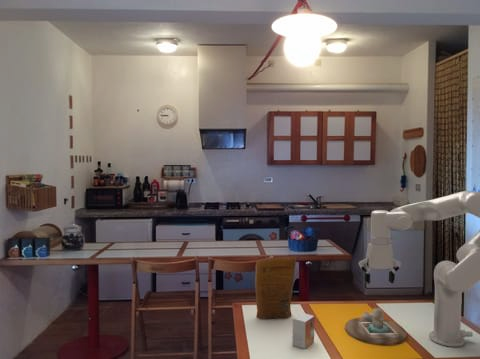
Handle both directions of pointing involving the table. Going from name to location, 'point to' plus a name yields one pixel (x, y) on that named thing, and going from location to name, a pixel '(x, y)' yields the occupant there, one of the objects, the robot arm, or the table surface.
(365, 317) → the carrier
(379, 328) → the gear
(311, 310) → the table surface
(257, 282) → the pancake mix bag
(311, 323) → the small box
